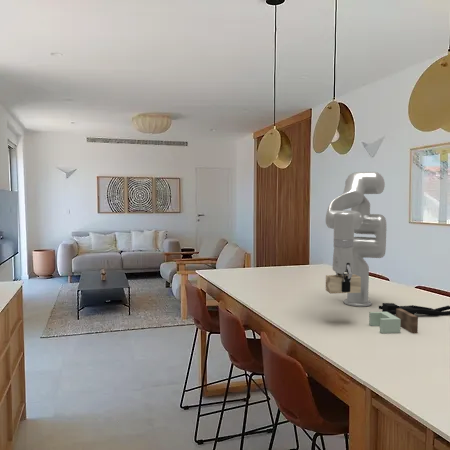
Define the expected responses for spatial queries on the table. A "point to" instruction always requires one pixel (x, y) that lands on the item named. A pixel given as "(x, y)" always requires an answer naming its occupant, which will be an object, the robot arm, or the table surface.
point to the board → (407, 320)
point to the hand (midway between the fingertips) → (342, 289)
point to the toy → (415, 309)
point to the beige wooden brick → (336, 284)
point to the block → (385, 322)
